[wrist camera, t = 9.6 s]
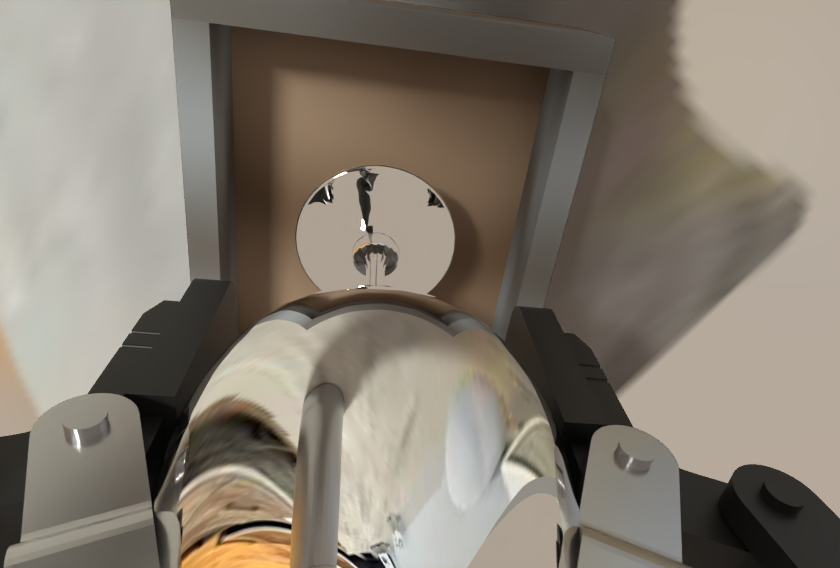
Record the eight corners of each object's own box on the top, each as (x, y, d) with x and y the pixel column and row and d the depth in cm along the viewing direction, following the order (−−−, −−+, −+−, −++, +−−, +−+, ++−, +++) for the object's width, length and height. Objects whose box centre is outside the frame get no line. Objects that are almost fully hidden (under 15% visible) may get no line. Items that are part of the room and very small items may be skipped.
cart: (229, -26, 17) (168, -24, 12) (555, 20, 18) (616, 39, 13) (238, 316, 23) (199, 408, 18) (485, 336, 24) (510, 427, 19)
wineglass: (234, 268, 16) (-46, 834, 6) (340, 93, 14) (208, 480, 3) (404, 357, 18) (432, 909, 7) (520, 214, 16) (792, 708, 5)
